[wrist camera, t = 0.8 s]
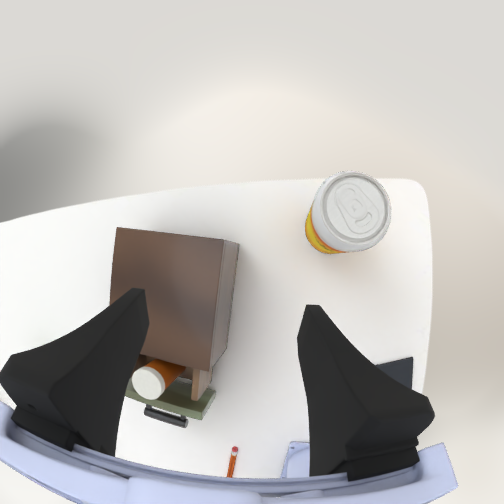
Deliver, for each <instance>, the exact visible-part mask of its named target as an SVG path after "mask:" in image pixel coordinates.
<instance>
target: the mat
mask: <svg viewBox="0 0 504 504" xmlns="http://www.w3.org/2000/svg"><path fill="white" fill-rule="evenodd" d="M375 366H376V367H378V368H379V369H380V370H382V371H383V372H384V373H386V374H387V375H388V376H390V377H391V378H393V379H394V380H396V381H398V382H399V383H401V384H403V385H404V386H406V387H408V388H410V389H412V374H413V357H410V358H406V359H402V360H398V361H393V362H389V363H384V364H380V365H375Z"/></svg>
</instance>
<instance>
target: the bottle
mask: <svg viewBox="0 0 504 504" xmlns="http://www.w3.org/2000/svg"><path fill="white" fill-rule="evenodd" d="M185 369H186V366H182V365H178V364H174V363H170V362H167V361H163V360H160V359H156V358H155V359H154V360H153V361H151V362H150V363H148V364H147V365H145V366H144V367H141V368H139V369H138V370H137V371H135V372H134V374H133V376H132V384H133V387H134V389H135V390H136V392H137V393H138V394H139V395H140V396H142V397H144V398H146V399H150V400H153V399H157V398H158V397H159V396H160V395H161V394H162V393H163V392H164V390H165V389H166V388H167V387H168V386H169V385H170V384H171V383H172V382H173V381H174V380H175V379H176V378H177V377H178V376H179V375H180V374H181V373H182V372H183V371H184V370H185Z"/></svg>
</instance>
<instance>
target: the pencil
mask: <svg viewBox="0 0 504 504" xmlns="http://www.w3.org/2000/svg"><path fill="white" fill-rule="evenodd" d="M237 450H238V448H237V447H233V448H232V453H231V458H230V463H229V469H228V474H227V477H230V478H232V474H233V469H234V465H235V460H236V455H237Z"/></svg>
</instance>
